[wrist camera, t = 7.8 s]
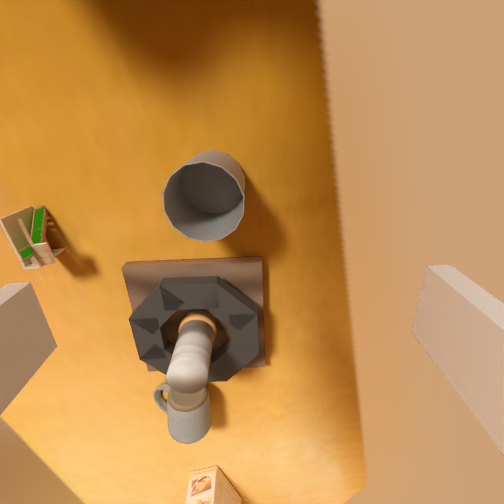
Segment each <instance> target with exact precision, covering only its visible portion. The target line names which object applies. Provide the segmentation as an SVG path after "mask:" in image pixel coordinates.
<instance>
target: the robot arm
mask: <svg viewBox="0 0 504 504" xmlns="http://www.w3.org/2000/svg"><path fill="white" fill-rule="evenodd" d="M411 332H412V334H413V335H414V336H415V338H416V339H417V340H418V342H419V343H420V344H421V346H422V347H423V348H424V350H425V351H426V352H427V354H428V355H429V356H430V358H431V359H432V360H433V362H434V363H435V364H436V366H437V367H438V368H439V370H440V371H441V372H442V373H443V375H444V376H445V378H446V379H447V380H448V382H449V383H450V384H451V386H452V387H453V388H454V389H455V391H456V392H457V393H458V395H459V396H460V397H461V399H462V400H463V401H464V403H465V404H466V405H467V407H468V408H469V409H470V411H471V412H472V413H473V415H474V416H475V417H476V419H477V420H478V421H479V423H480V424H481V425H482V427H483V428H484V429H485V431H486V432H487V433H488V434H489V436H490V437H491V439H492V440H493V441H494V443H495V444H496V445H497V446H498V448H499V449H500V450H501V452H502V453H503V455H504V304H503V303H501V302H500V301H499V300H497V299H496V298H494V297H493V296H492V295H490V294H489V293H488V292H486V291H485V290H483V289H482V288H481V287H479V286H478V285H477V284H476V283H474V282H473V281H471V280H470V279H469V278H467V277H466V276H465V275H463V274H462V273H460V272H459V271H458V270H457V269H455V268H454V267H453V266H451V265H435V266H427V268H426V272H425V276H424V280H423V285H422V289H421V293H420V297H419V301H418V306H417V310H416V314H415V318H414V322H413V326H412V330H411ZM56 347H57V344H56V342H55V340H54V337H53V335H52V332H51V330H50V328H49V325H48V323H47V320H46V318H45V316H44V313H43V311H42V308H41V306H40V304H39V301H38V299H37V296H36V294H35V292H34V289H33V287H32V284H31V282H24V283H7V284H6V285H4V286H3V287H1V288H0V415H1V414H2V412H3V411H4V410H5V409H6V408H7V406H8V405H9V404H10V403H11V402H12V400H13V399H14V398H15V397H16V395H17V394H18V393H19V392H20V391H21V389H22V388H23V387H24V386H25V385H26V383H27V382H28V381H29V380H30V379H31V377H32V376H33V375H34V374H35V372H36V371H37V370H38V369H39V368H40V366H41V365H42V364H43V363H44V362H45V360H46V359H47V358H48V357H49V356H50V354H51V353H52V352H53V351H54V349H55V348H56Z"/></svg>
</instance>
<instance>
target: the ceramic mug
mask: <svg viewBox="0 0 504 504" xmlns="http://www.w3.org/2000/svg"><path fill="white" fill-rule="evenodd" d="M161 390H164V391H166V392H169V394H168V398H167V402H166V401H165V400H164V399H163V398H162V396H161ZM154 399H155V402H156V404H157V405H158V406H159V407H160V409H162V410H163V411H164V412H165V413H167V414H168V429H169V433H170V435H171V436H172V438H173V439H174V440H176V441H177V442H180V443H184V444H190V443H194V442H197V441H199V440H200V439H202V438H203V437H204V436H205V435H206V434H207V432H208V431H209V429H210V425H211V410H210V396H209V391H208V388H207V386H205V387H204V388H203V389H202V390H200V391H199V392H196V393H191V394H186V393H180V392H177V391H175V390H174V389H172V388H171V387H170V386H169V385H168V384H167V383H162V384H160V385H159V386H158V387H157V389H156V390H155V391H154Z"/></svg>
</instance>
